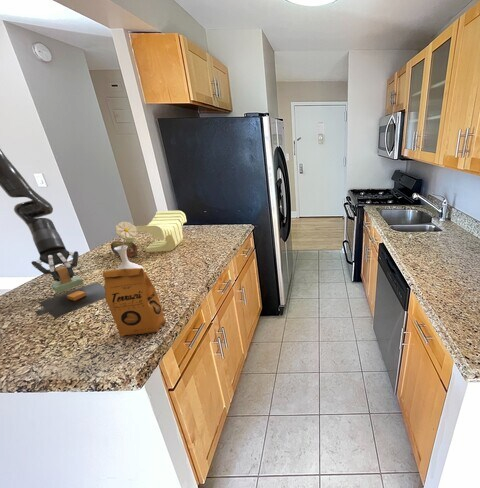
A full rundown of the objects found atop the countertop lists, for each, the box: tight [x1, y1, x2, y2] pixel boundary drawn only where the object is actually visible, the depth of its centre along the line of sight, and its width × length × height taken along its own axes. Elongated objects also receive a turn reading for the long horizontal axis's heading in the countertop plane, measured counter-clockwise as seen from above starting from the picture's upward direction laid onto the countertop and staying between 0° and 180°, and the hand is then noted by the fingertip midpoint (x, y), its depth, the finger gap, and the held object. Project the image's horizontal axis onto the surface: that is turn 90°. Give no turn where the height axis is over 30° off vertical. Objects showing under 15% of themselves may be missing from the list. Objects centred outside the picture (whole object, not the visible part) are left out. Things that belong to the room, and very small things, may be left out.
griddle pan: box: [34, 281, 106, 319], centre depth 101 cm, size 23×18×1 cm
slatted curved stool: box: [134, 209, 187, 253], centre depth 148 cm, size 30×16×18 cm, turn 6°
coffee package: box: [102, 268, 166, 337], centre depth 82 cm, size 10×12×22 cm
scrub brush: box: [50, 265, 84, 294], centre depth 102 cm, size 8×5×8 cm, turn 149°
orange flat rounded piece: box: [67, 290, 86, 301], centre depth 101 cm, size 4×4×2 cm
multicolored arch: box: [110, 239, 139, 258], centre depth 138 cm, size 15×3×8 cm, turn 76°
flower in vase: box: [112, 221, 144, 270], centre depth 116 cm, size 13×11×25 cm
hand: (65, 278), depth 101 cm, fingers closed on scrub brush, 3 cm apart
